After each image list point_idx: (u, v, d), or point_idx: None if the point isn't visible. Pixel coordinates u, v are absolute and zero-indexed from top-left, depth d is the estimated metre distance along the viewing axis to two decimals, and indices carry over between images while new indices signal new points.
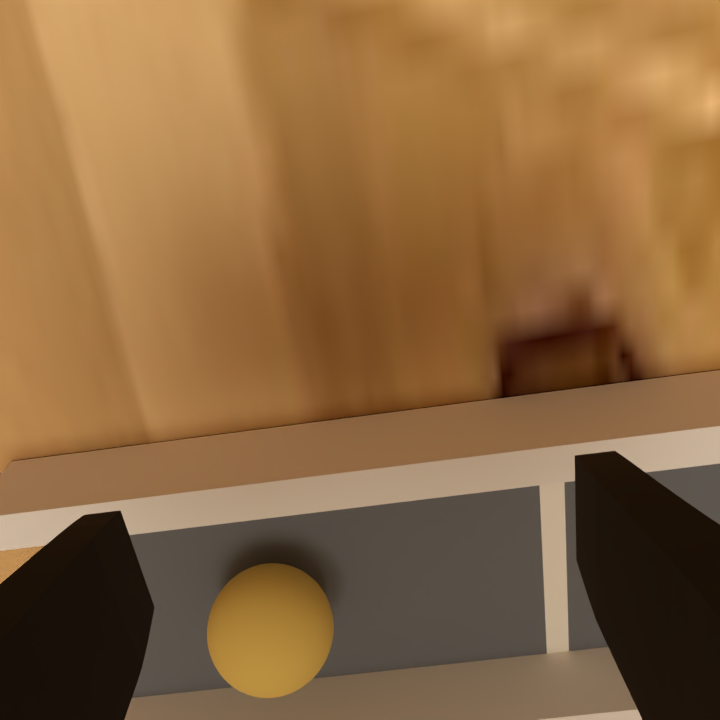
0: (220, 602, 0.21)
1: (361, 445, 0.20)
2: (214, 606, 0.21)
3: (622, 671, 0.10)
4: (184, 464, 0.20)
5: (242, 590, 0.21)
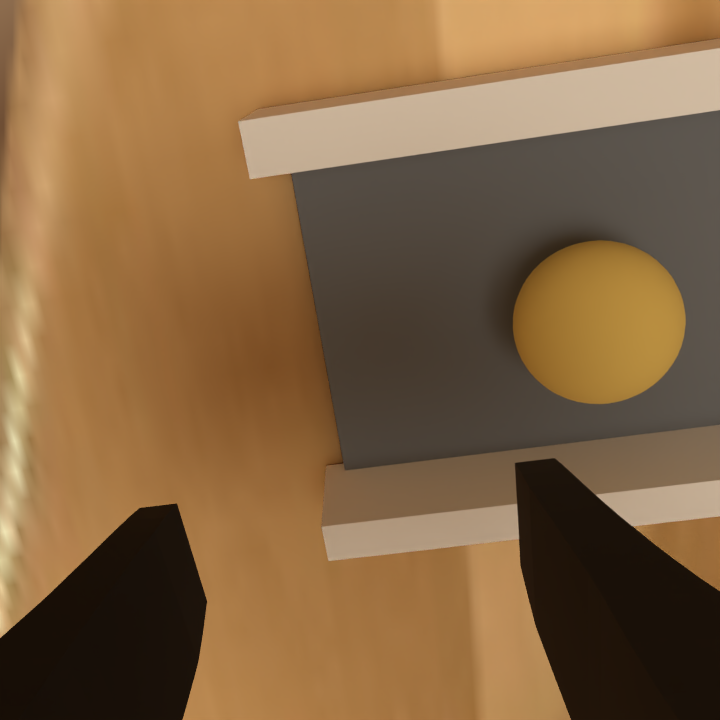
0: (545, 273, 0.16)
1: None
2: (533, 283, 0.16)
3: (557, 678, 0.10)
4: (514, 73, 0.15)
5: (578, 253, 0.16)
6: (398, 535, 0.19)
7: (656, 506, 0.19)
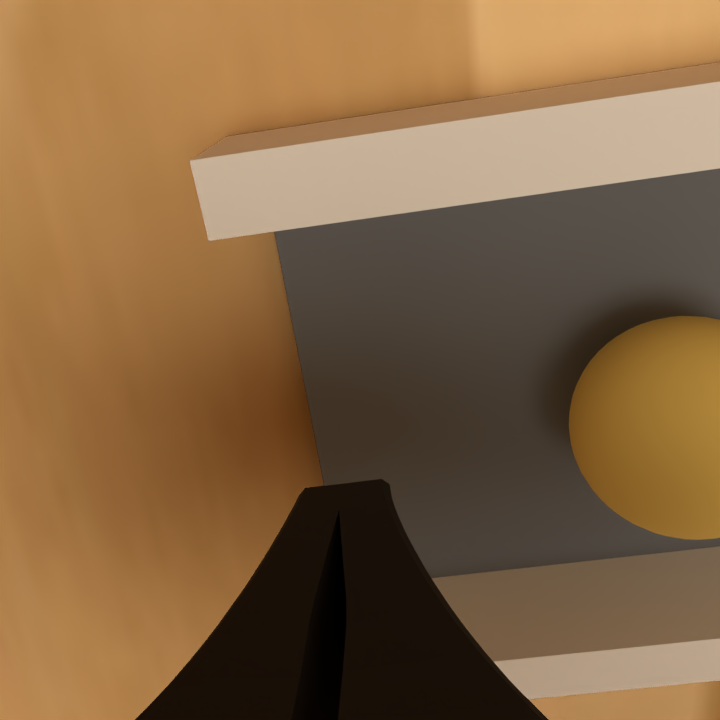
0: (620, 364, 0.12)
1: None
2: (602, 376, 0.12)
3: None
4: (581, 91, 0.11)
5: (667, 338, 0.12)
6: None
7: None
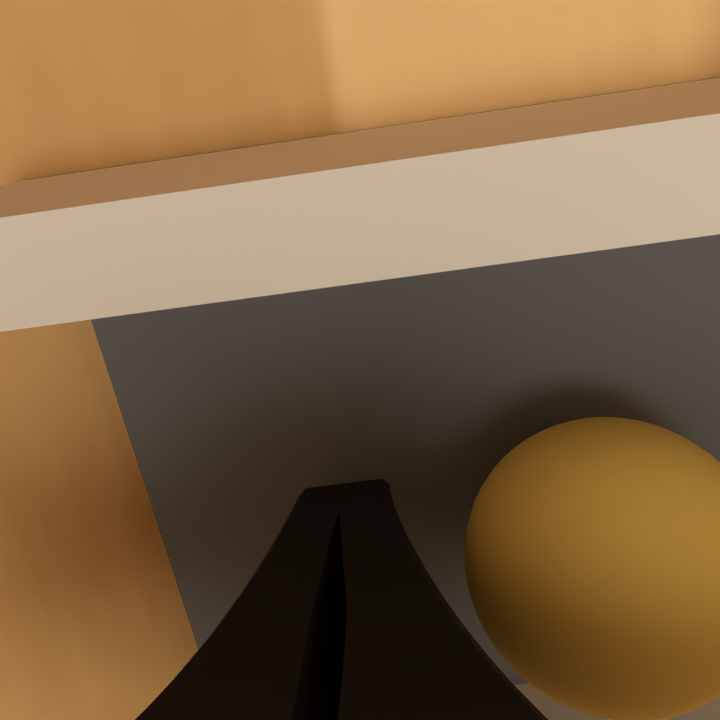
0: (518, 491, 0.09)
1: None
2: (497, 503, 0.09)
3: None
4: (456, 131, 0.08)
5: (579, 459, 0.09)
6: None
7: None
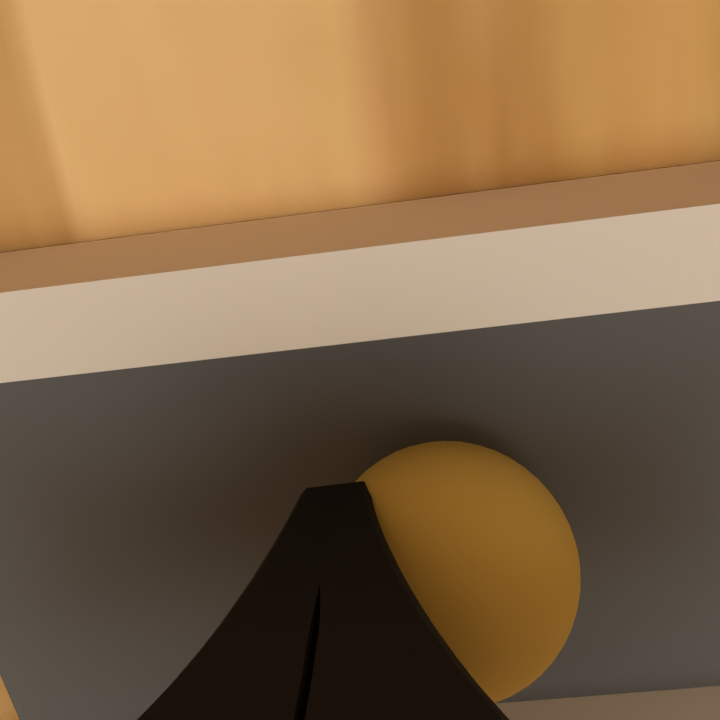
0: (418, 516, 0.09)
1: (502, 209, 0.09)
2: (411, 543, 0.09)
3: None
4: (129, 253, 0.10)
5: (426, 467, 0.10)
6: None
7: None
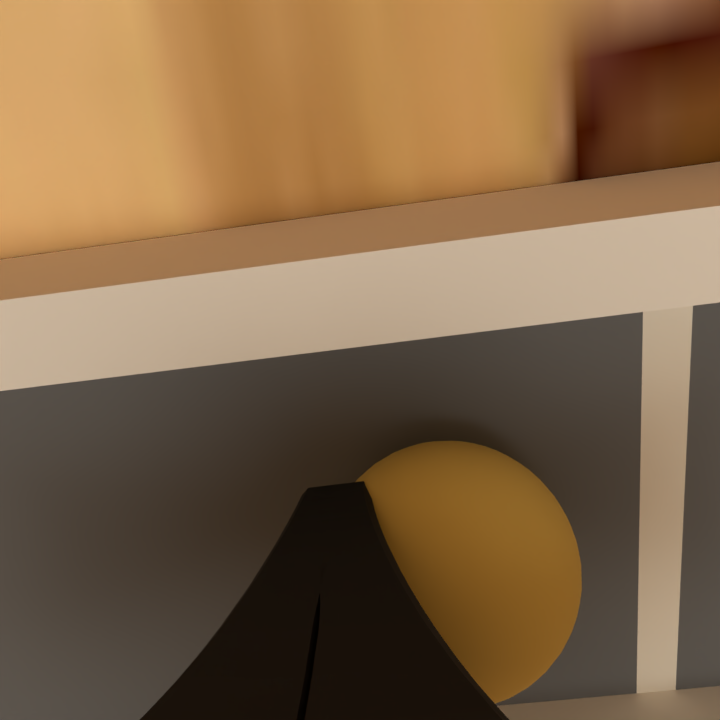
0: (502, 482, 0.10)
1: (290, 240, 0.10)
2: (523, 499, 0.10)
3: None
4: None
5: (443, 465, 0.10)
6: None
7: None
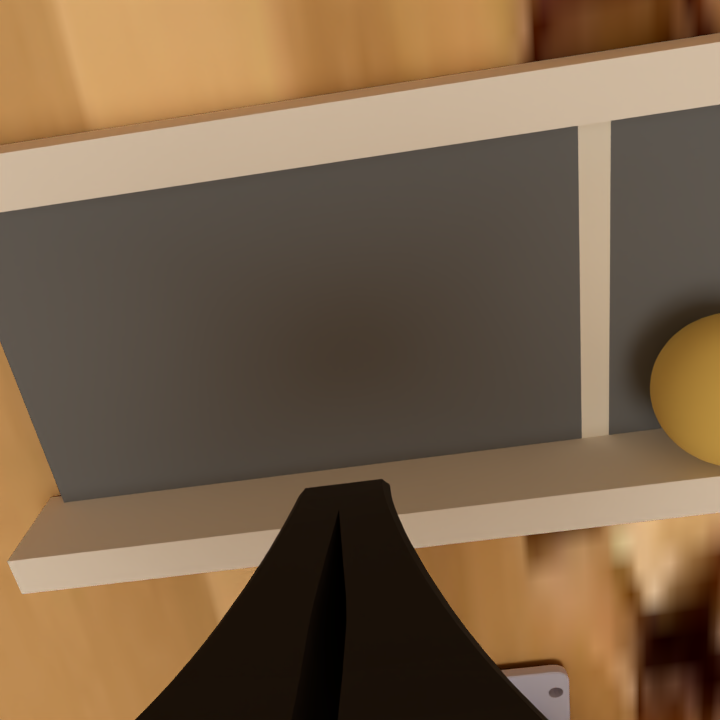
0: None
1: (354, 94, 0.15)
2: None
3: None
4: (126, 129, 0.16)
5: None
6: (84, 569, 0.19)
7: None
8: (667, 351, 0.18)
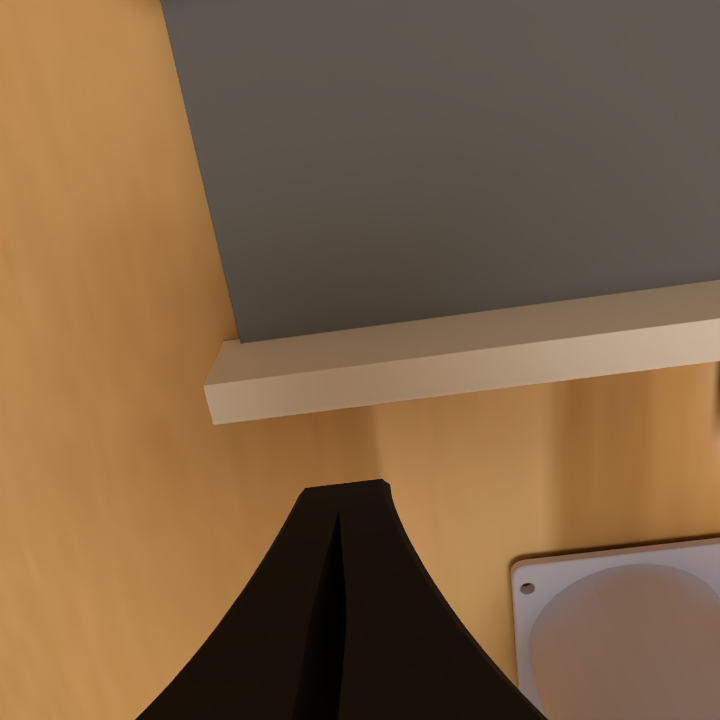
0: None
1: None
2: None
3: None
4: None
5: None
6: (283, 395, 0.18)
7: (549, 362, 0.18)
8: None
